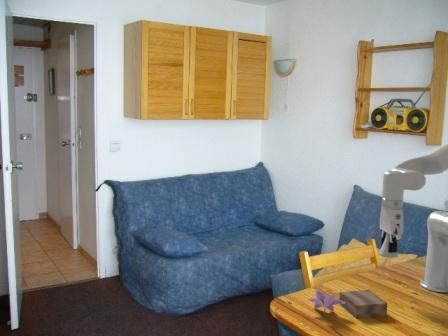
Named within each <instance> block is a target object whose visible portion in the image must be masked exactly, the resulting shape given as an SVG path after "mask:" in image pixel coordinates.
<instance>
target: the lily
mask: <svg viewBox="0 0 448 336" xmlns="http://www.w3.org/2000/svg"><path fill="white" fill-rule="evenodd" d="M339 299H340V298H339ZM339 299H338V298H337V294H336V293H335V294H329V295H327V294H326V293H325V292H323V291H322V290H320V289H315V297H313V298H307V299H306V300H307V301H309V302H312V303H313V309H315V310H316V309H320V308H324V314H323V315H324V318H323V319H326V309H327V310H329V311H331V312H334V311H335V307H334V305H335V306H336V305H340V304H345V302H344V301H341V300H339Z"/></svg>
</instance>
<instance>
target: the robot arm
mask: <svg viewBox="0 0 448 336" xmlns="http://www.w3.org/2000/svg"><path fill="white" fill-rule="evenodd" d="M446 171H448V143H447V144H446V145H444V146H442V147H440V148H439V149H437V150H435V151H433V152H431V153H428V154H426V155H422V156H418V157H414V158H411V159H407V160H405V161H403V162H401V163H399V164H397V165H396V166H394V167H393V168H392V169H391V170H386V171H384V173H383V176H382V177H383V178H382V192H381V193H382V194H381V206H380V207H381V208H380V214H379V215H380V216H379V224H378V225H379V230H380V237H381V240H380V241H381V243H380V248H381V247H382V245H383V243H384V241H385V238H386V233H388V234H390V242H389V248H388V252H389V253H396V252H397V253H398V243H399V240H400V239H402V238H403V236H402V235H404V220H405V219H404V209H403V205H404V191H419V190H421V189H423V188H424V187H425V185H426V182H427V181H426V180H427V179H426V175H427V176H431V175H439V174H442V173H444V172H446ZM443 203H444V204H443V205H444V208H445V209H446V211H444V210H434V211H432V212H430V214H429V215H428V216H427V221H426V226H427V236H428V238H427V250H426V259H425V260H426V261H425V271H424V278H423V279H420V281H419V285H420V286H421V287H422V288H424V289H425V290H428V291H432V292H436V293H448V212H447V211H448V195H447V196H446V197H445V200H444V202H443Z"/></svg>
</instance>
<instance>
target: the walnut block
mask: <svg viewBox="0 0 448 336" xmlns="http://www.w3.org/2000/svg"><path fill="white" fill-rule="evenodd" d="M339 300H341V301H344V302H345V304H339V305H340V306H341V307H342V308H343V309H344V310H345V311H346V312H348V313H349V314H350V315H351V316H352V317H353V318H354V319H356V320H357V319H367V318H376V317H387V315H388V314H387V313H388V302H387V301H385V300H384V299H382V298H381V297H380V296H378V295H377V294H376V293H374V292H373V291H372V290H370V289H361V290H360V289H359V290H351V291H350V290H349V291H347V290H346V291H340V292H339Z"/></svg>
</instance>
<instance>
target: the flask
mask: <svg viewBox="0 0 448 336" xmlns="http://www.w3.org/2000/svg"><path fill="white" fill-rule="evenodd" d="M389 242H390V234H388V233H386V238H385V241H384V243H383V245H382V247H381V246H380V250H379V252H378V255H379V256H381V257H383V258H391V259H392V258H393V259H394V258H398V256H399V253H398V251H397V252H396V253H389V252H388V248H389Z"/></svg>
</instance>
